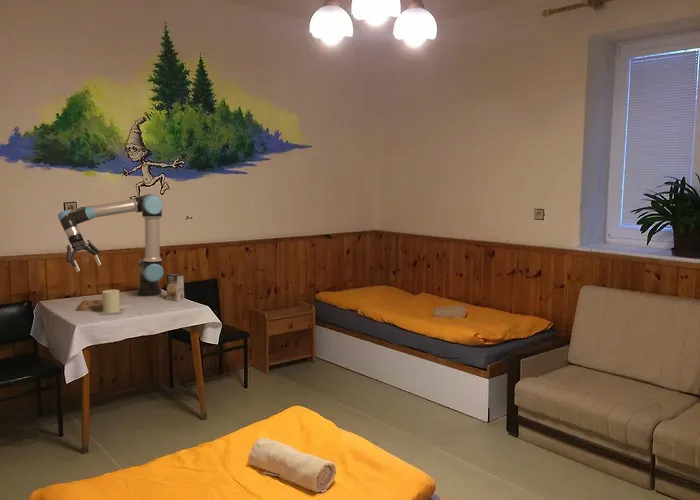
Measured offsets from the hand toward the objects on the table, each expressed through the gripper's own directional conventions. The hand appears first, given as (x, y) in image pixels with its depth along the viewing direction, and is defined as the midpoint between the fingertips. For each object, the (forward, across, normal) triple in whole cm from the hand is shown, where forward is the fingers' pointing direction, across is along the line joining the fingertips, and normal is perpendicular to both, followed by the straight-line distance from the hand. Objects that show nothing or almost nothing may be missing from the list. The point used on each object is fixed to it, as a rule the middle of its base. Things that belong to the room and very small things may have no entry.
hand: (89, 268), depth 359 cm
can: (+30, +4, +10) cm, 32 cm away
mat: (+30, +4, +10) cm, 32 cm away
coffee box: (+36, -39, +8) cm, 54 cm away
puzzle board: (+22, +2, -7) cm, 23 cm away
